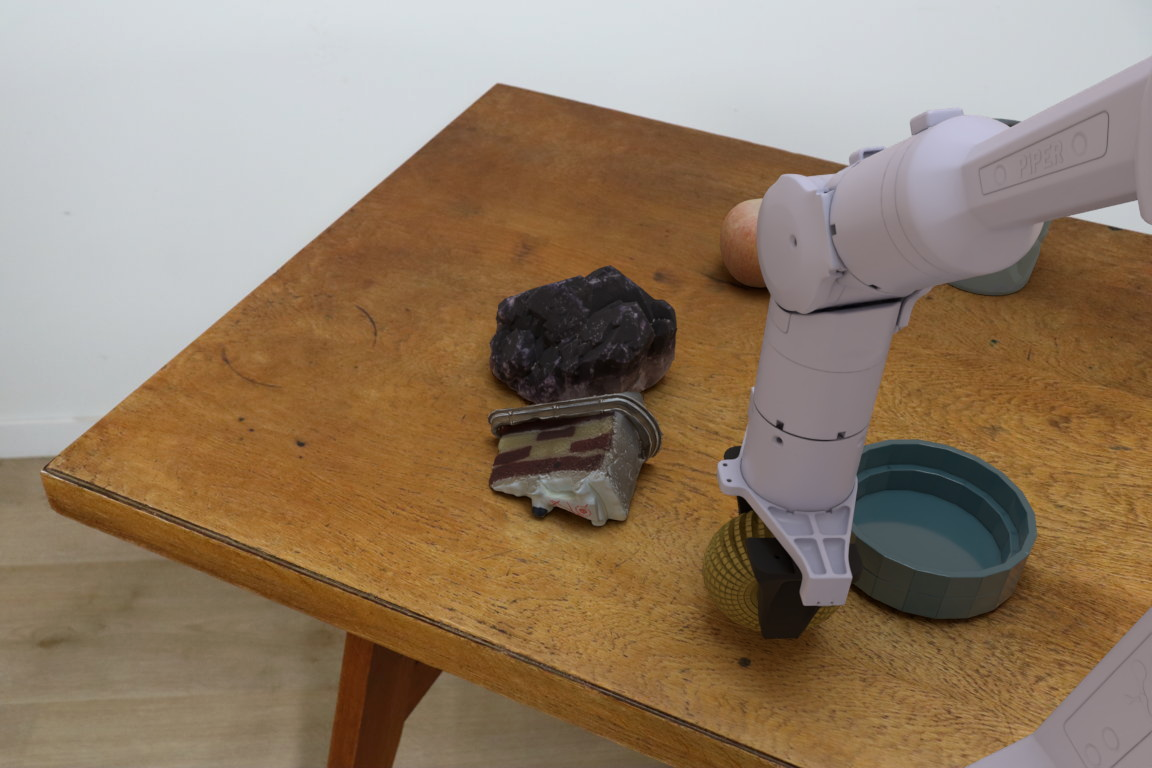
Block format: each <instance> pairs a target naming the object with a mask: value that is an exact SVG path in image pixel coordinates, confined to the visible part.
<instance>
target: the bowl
mask: <svg viewBox="0 0 1152 768" xmlns="http://www.w3.org/2000/svg"><path fill="white" fill-rule="evenodd" d="M856 476H857V480H858V486H857V494H856V501H855V508H854V515H853V522H852V529H851V536H850V543H849V544H856V545H857V548H858V551H859V554H860V556H861V559H862V562H863V570H862V573H861V576H860V578H859V580H858V581H857V582H855V583H853V584H852V585H854V586H856V587H857V588H858V589H859V590H860V591H862V592H863V593H864V594H866V595H867V596H868V597H870V598H871V599H874V600H876V601H878V602H881V603H883V604H884V605H887V606H889V607H891V608H893V609H896V610H897V611H900V612H903V613H908V614H912V615H916V616H921V617H925V618H930V619H936V620H947V619H951V620H953V619H955V620H956V619H969V618H973V617H976V616H980V615H982V614H985V613H989V612H992V611H994V610H995V609H997V608H998V607H999V606H1001V605H1002V604H1003V603H1004V602H1006V601H1007V600H1008V599H1010V597H1012V596H1013V595H1014V593H1015V590H1016V588H1017V585H1018V583H1019V581H1020V578H1021V576H1022V574H1023V571H1024V569H1025V567H1026V564H1027V562H1028V560H1029V557H1030V555H1031V552H1032V549H1033V548H1034V545H1035V542H1036V540H1037V537H1038V529H1037V527H1038V526H1037V518H1036V512H1035V511H1034V509H1033V507H1032V506H1031V504H1030V502H1029V500H1028V498H1027V495H1025V493H1024V492H1023V490H1022V489H1021V488H1019V486H1018V485H1017V484H1016V483H1014V481H1013V480H1012V479H1010V478H1009V476H1007V474H1005V473H1004V472H1003V471H1001V470H1000V469H999V468H997V467H995V466H994V465H992V464H990V463H989V462H987V461H985V460H984V459H982V458H981V457H979V456H977V455H975V454H972V453H970V452H967V451H964V450H963V449H959V448H957V447H954V446H951V445H948V444H944V443H939V442H935V441H929V440H925V439H924V440H923V439H916V438H911V439H909V438H903V439H901V438H898V439H897V438H895V439H894V438H893V439H891V438H890V439H884V440H881V441H877V442H873V443H869V444H864V448H863V451H862V455H861V459H860V463H859V467H858V471H857V474H856Z"/></svg>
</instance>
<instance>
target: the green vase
mask: <svg viewBox="0 0 1152 768" xmlns="http://www.w3.org/2000/svg"><path fill="white" fill-rule="evenodd" d="M991 118H992V119H995V120H998V121H1000V122H1002V123H1004V124H1006V125H1007V126H1009V127H1012V126H1014V125H1016V124H1018V123H1020V122H1022V121H1023V120H1022V121H1021V120H1018V119H1017V120H1016V119H1011V118H1000V117H996V118H995V117H991ZM1052 222H1053V220H1050V221H1046V222H1044V224H1043V227H1042V229H1041V232H1040V234H1039V236H1038V238H1037V240H1036V242H1035V243H1034V245H1033V246H1032V248H1031V249H1030V250H1029V251H1028V253H1027V254H1026V255H1025V256H1024V257H1022V258H1021V259H1020V260H1019V261H1018V262H1016V263H1015V264H1013V265H1012V266H1010V267H1008V268H1005V269H1003V270H1001V271H998V272H995V273H991V274H987V275H982V276H976V277H972V278H968V279H963V280H959V281H955V282H950V283H947V284H948V285H950V286H951V287H954V288H957V289H959V290H962V291H965V292H968V293H973V294H977V295H984V296H1005V295H1010V294H1014V293H1017V292H1018V291H1020V290H1022V289H1023V288H1024V287H1025V286H1026V285H1027V283H1028V282H1029V280H1030V278H1031V275H1032V273H1033V271H1034V269H1035V266H1036V264H1037V261H1038V259H1039V256H1040V255H1041V246H1042V243H1043V242H1044V240H1045V238H1046V237H1047V235H1048V233H1049V228H1050V226H1051V224H1052Z"/></svg>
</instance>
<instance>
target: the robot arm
mask: <svg viewBox="0 0 1152 768" xmlns="http://www.w3.org/2000/svg"><path fill="white" fill-rule="evenodd" d="M964 113H965V112H964V110H963V108H962V107H946V108H939V109H938V108H937V109H936V108H935V109H927V110H926V111H923V112H922V113H920V114H918V115H915V116H914V117H912V118H911V119H910V120H909V126H910V134H911V136H909V137H907V138H905V139H903V140H901V141H899V142H897V143H894V144H893V145H890V146H888V147H886V146H884V145H879V146H868V147H861V148H860V149H857V150H856V151H853V152H852V153H850V155H849V157H848V166H846V167H844V168H842V169H841V170H838V171H837V173H828V174H818V175H809V176H807V175H803V174H799V173H798V174H797V173H784V174H781V175H780V176H779V178H777V180H776V181H775V183H773V184H772V185H771V186H770V187H769V188H768V189H766V192H765V193H764V196H763V200H762V202H761V205H760V209H759V214H758V220H757V252H758V259H759V264H760V268H761V272H762V276H763V279H764V281H765V284H766V286H767V287H766V288H767V290H768V293H769V294H770V297H769V303H768V309H767V315H766V318H765V319H766V320H765V326H764V332H763V337H762V344H761V349H760V354H759V360H758V365H757V370H756V377H755V382H754V386H751V389H750V395H749V401H748V406H747V410H746V414H747V417H748V422H747V425H746V428H745V429H746V430H745V433H744V436H743V440H742V443H741V445H733V446H731V447H729V448H727V449H726V450H725V451H724V453H723V460H720V461H718V462H717V467H716V468H717V469H716V472H715V475H716V481H717V483H718V487H719V490H720V492H721V493H722V494H724V495H726V496H735V497H736V503H737V511H738V512H737V513H738V516H739V515H741V514H743V513H748V512H750V511H752V510H753V511H755V512H756V513H757V515H758V516H759V517H760V518H761V520H762V521H763V522H764V523H765V525H766V526H767V527H768V528H769V530H770V531H771V532H772V533H773V535H774V536H775V537H771V538H746V542H745V545H746V549H747V553H748V556H749V560H750V564H751V568H752V571H753V573H754V576H755V578H756V580H757V582H758V589H759V595H758V619H759V625H760V629H761V631H760V633H761V637H762V639H764V640H783V639H784V640H789V639H790V640H791V639H793V640H794V639H799V638H800V637H801V635H802V634H803V633H804V632H805V631H806V630H805V629H806V627H807V626H808V624H809V623H810V621H811V620H812V619H813V617H814V616H815V614H816V613H817V612H818V610H819V609H820V608H821V607H822V606H832V605H841V606H845V605H846V603H847V599H848V595H849V591H850V588H851V585H854V584H853V583H855V582H857V581H858V580H859V578H860V576H861V573H862V570H863V562H862V559H861V556H860V554H859V551H858V548H857V545H856V544H849V543H850V536H851V529H852V522H853V515H854V508H855V501H856V494H857V486H858V480H857V476H856V474H857V471H858V467H859V463H860V459H861V455H862V451H863V448H864V446H865V445H866V440H867V435H868V432H869V428H870V425H871V421H872V416H873V412H874V409H875V405H876V401H877V397H878V393H879V390H880V387H881V382H882V378H883V374H884V371H885V367H886V363H887V359H888V355H889V351H890V347H891V343H892V341H893V336H894V334H897V333H899V331H901V330H904V328H906V327H908V326H909V322H910V319H911V315H912V312H913V308H914V306H915V304H916V303H917V301H918V300H920V299H921V298H923V297H924V296H926V295H927V294H928V293H930V292H931V290H933V288H934V287H937V286H941V285H945V284H948V283H950V282H955V281H959V280H963V279H968V278H972V277H976V276H982V275H987V274H991V273H995V272H998V271H1001V270H1003V269H1005V268H1008V267H1010V266H1012V265H1013V264H1015V263H1016V262H1018V261H1019V260H1020V259H1021V258H1022V257H1024V256H1025V255H1026V254H1027V253H1028V251H1029V250H1030V249H1031V248H1032V246H1033V245H1034V243H1035V242H1036V240H1037V238H1038V236H1039V234H1040V232H1041V229H1042V227H1043V224H1044V222H1046V221H1050V220H1052V221H1053V220H1059V219H1062V218H1067V217H1071V216H1075V215H1079V214H1084V213H1088V212H1094V211H1097V210H1101V209H1105V208H1111V207H1115V206H1119V205H1123V204H1128V203H1131V202H1136V201H1137V203H1138V210H1139V215H1140V217H1141V220H1143V221H1144V222H1145V223H1146V224H1148V225H1150V226H1152V55H1150V56H1147V57H1146V58H1144V59H1142V60H1140V61H1138V62H1136V63H1134V64H1132V65H1130V66H1128V67H1126V68H1124V69H1123V70H1120V71H1118V72H1117V73H1114V74H1113V75H1111V76H1109V77H1107V78H1105V79H1103V80H1101V81H1099V82H1097V83H1095V84H1093V85H1091V86H1089V87H1087V88H1085V89H1083V90H1081V91H1079V92H1077V93H1075V94H1073V95H1071V96H1069V97H1067V98H1065V99H1063V100H1061V101H1059V102H1057V103H1055V104H1053V105H1051V106H1049V107H1047V108H1045V109H1043V110H1042V111H1040V112H1038V113H1036V114H1034V115H1031V116H1030V117H1027V118H1026V119H1023V120H1022V122H1020V123H1018V124H1016V125H1014V126H1012V127H1009V126H1007V125H1006V124H1004V123H1002V122H1000V121H998V120H995V119H992V118H993V117H989V116H984V115H979V114H964ZM963 768H1152V605H1151V606H1149V608H1148V609H1147V610H1146V611H1145V612H1144V613H1143V614H1142V616H1140V618H1139V619H1138V620H1137V621H1136V622H1135V623H1134V624H1133V625H1132V626H1131V627H1130V629H1129V630H1127V632H1126V633H1125V634H1124V635H1123V636H1122V637H1121V638H1120V639H1119V640H1118V641H1117V642H1116V643H1115V644H1114V646H1113V647H1112V648H1111V649H1110V650H1109V651H1108V652H1107V653H1105V655H1104V656H1103V657H1102V658H1101V660H1100V661H1099V662H1098V663H1097V664H1096V665H1095V666H1094V667H1093V668H1092V669H1091V670H1090V671H1089V672H1088V673H1087V674H1086V676H1084V678H1083V679H1082V680H1081V681H1080V682H1079V683H1078V684H1077V685H1076V686H1075V687H1074V688H1073V689H1072V690H1071V692H1069V693H1068V695H1067V696H1066V697H1065V698H1064V699H1063V700H1062V701H1061V702H1060V703H1059V704H1058V706H1056V707H1055V708H1054V710H1053V711H1052V712H1051V713H1050V714H1049V715H1048V716H1047V717H1046V718H1045V719H1044V720H1043V722H1042V723H1040V725H1039V726H1038V727H1037V728H1036V729H1035V730H1034V731H1033V732H1031V733H1030V734H1028V735H1026V736H1024V737H1022V738H1020V739H1018V740H1017V741H1015V742H1013V743H1011V744H1009V745H1007V746H1004V747H1003V748H1001V749H998V750H996V751H994V752H992V753H990V754H987V755H986V756H984V757H982V758H980V759H978V760H976V761H974V762H972V763H970V764H968V765H966V766H964V767H963Z"/></svg>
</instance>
